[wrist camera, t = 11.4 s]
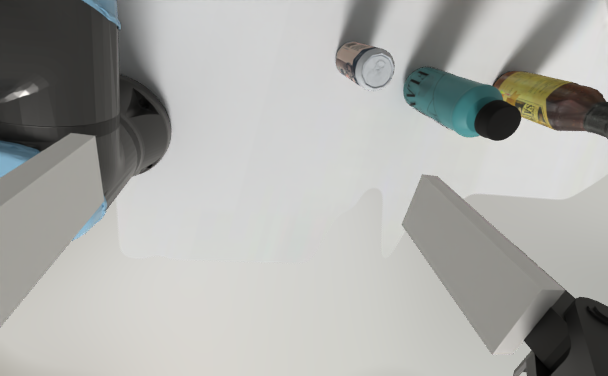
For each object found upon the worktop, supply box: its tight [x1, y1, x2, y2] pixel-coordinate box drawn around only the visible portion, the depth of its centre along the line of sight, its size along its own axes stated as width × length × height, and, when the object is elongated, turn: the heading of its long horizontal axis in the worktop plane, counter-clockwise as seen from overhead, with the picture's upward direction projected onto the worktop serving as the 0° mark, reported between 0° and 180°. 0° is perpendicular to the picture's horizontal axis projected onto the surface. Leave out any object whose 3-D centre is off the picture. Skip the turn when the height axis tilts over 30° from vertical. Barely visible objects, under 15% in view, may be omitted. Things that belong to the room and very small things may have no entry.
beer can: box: [336, 42, 395, 91], centre depth 41 cm, size 5×5×12 cm
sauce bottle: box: [494, 71, 608, 139], centre depth 43 cm, size 7×6×20 cm
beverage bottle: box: [404, 66, 521, 141], centre depth 40 cm, size 6×7×20 cm
